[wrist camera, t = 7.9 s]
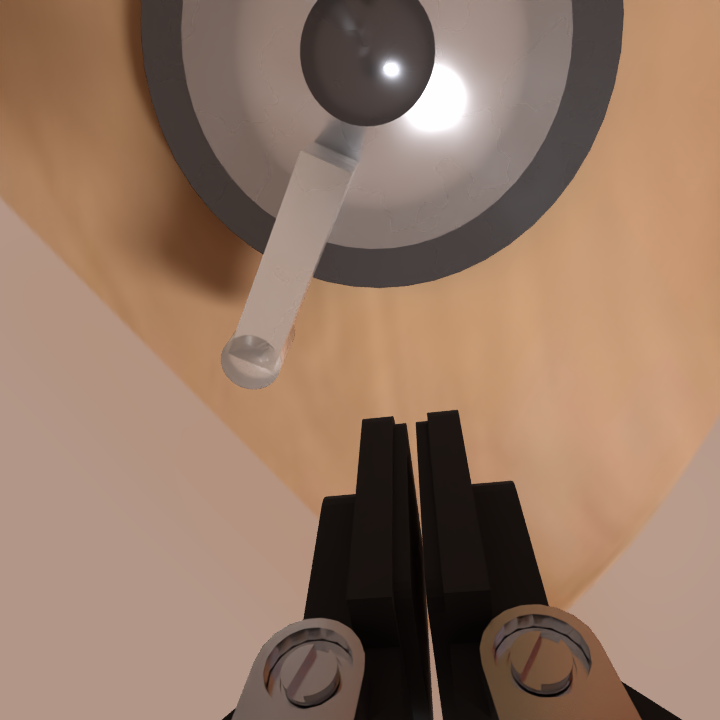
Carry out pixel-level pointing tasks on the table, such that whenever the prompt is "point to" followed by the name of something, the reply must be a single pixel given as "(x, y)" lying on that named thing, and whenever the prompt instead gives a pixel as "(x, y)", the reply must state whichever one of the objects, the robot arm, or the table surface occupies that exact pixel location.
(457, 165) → the dial
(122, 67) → the table surface
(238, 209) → the stand
